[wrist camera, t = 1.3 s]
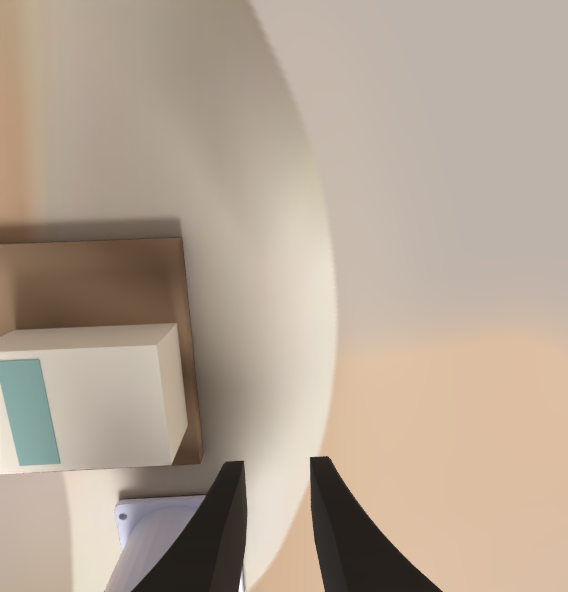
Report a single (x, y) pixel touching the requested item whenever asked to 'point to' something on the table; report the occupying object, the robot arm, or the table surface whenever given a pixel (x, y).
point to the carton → (90, 398)
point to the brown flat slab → (104, 298)
